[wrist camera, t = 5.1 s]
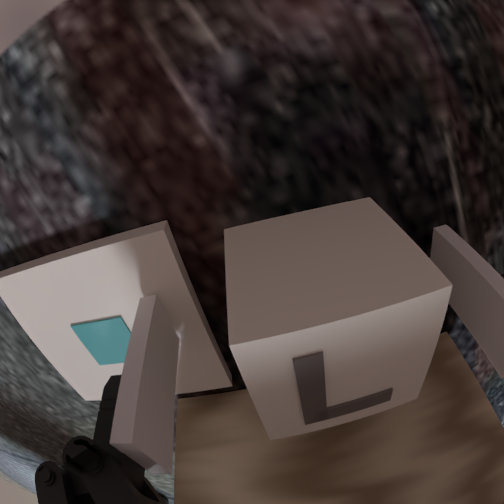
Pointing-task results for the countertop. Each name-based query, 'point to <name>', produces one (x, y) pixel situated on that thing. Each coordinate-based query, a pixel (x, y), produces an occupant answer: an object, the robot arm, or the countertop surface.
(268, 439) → the screen
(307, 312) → the letter cube
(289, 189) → the countertop surface
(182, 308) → the tile
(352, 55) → the countertop surface
